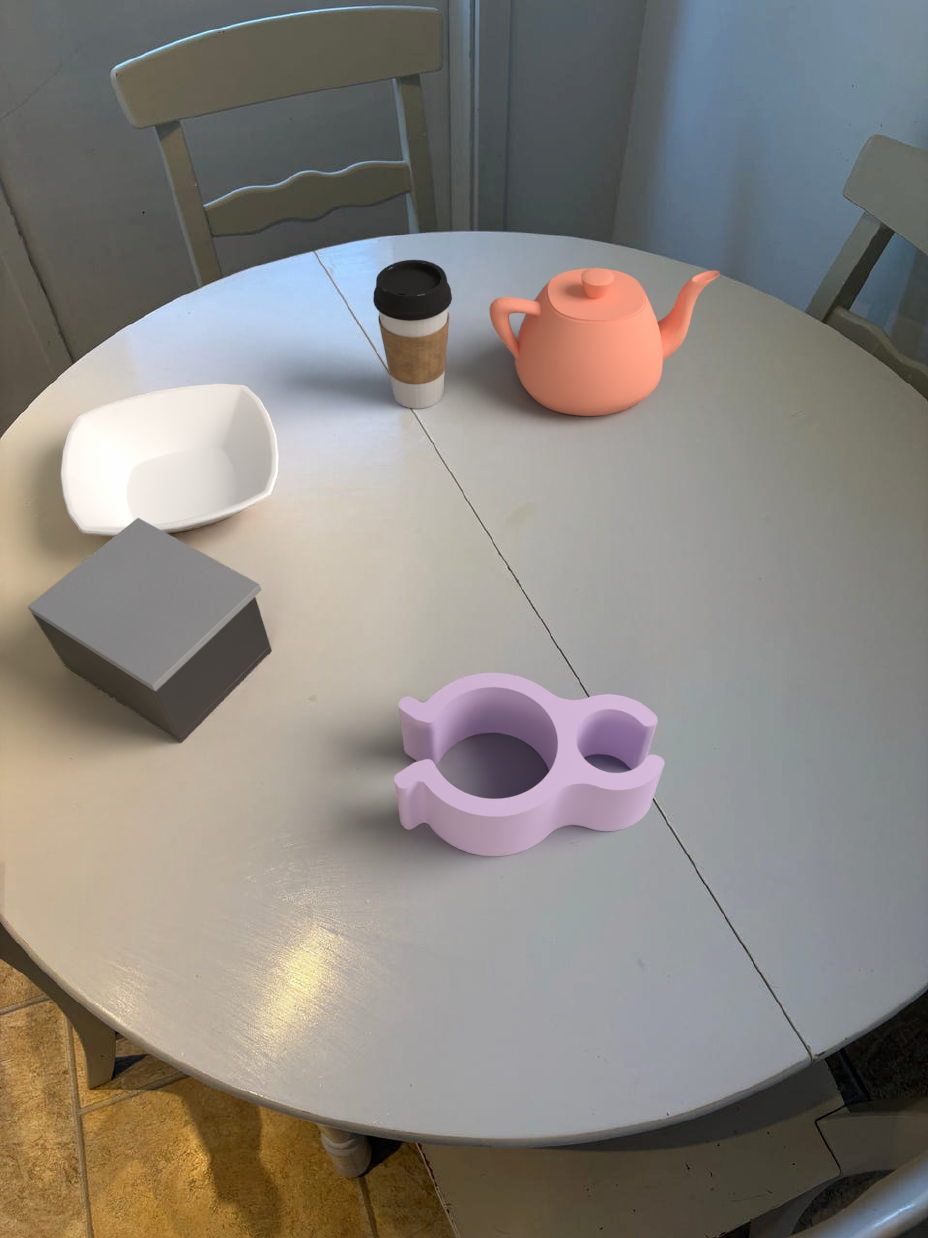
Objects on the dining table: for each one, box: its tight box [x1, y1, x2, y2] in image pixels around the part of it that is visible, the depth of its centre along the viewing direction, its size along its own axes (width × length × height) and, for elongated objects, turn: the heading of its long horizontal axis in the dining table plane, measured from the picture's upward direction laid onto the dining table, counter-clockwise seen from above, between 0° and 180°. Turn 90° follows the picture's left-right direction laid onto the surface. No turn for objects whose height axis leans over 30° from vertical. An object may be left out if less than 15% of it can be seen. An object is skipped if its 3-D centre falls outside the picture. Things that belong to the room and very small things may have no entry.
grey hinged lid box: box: [31, 596, 272, 744], centre depth 78 cm, size 12×15×8 cm
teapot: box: [489, 267, 721, 417], centre depth 100 cm, size 25×17×13 cm
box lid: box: [27, 518, 262, 691], centre depth 74 cm, size 12×15×1 cm
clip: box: [393, 672, 665, 857], centre depth 70 cm, size 20×12×7 cm, turn 90°
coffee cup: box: [372, 259, 453, 410], centre depth 98 cm, size 8×8×15 cm
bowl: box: [59, 383, 280, 537], centre depth 92 cm, size 22×22×5 cm
